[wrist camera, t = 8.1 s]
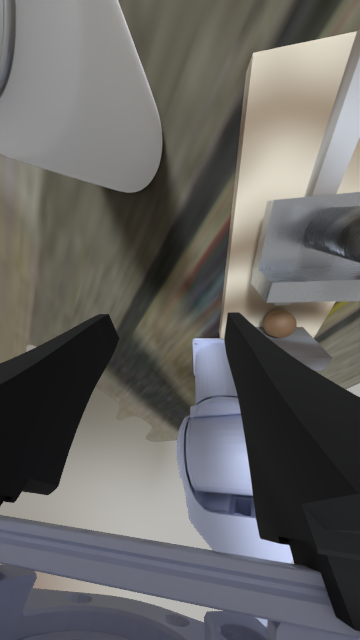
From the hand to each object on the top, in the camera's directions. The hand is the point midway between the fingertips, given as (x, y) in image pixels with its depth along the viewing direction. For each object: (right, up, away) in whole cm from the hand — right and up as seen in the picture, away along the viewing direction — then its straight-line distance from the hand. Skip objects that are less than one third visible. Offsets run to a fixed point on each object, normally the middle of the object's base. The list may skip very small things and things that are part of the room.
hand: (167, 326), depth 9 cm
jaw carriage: (+11, +7, +3) cm, 14 cm away
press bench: (+12, +8, +6) cm, 15 cm away
